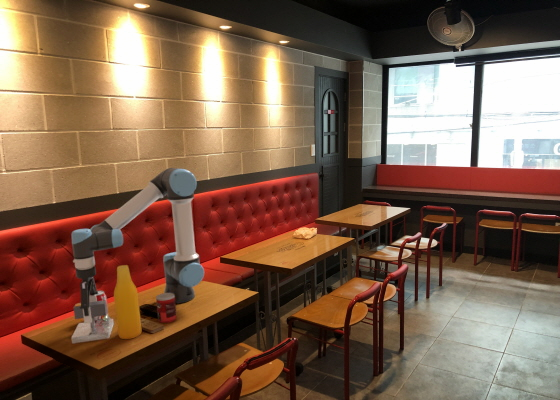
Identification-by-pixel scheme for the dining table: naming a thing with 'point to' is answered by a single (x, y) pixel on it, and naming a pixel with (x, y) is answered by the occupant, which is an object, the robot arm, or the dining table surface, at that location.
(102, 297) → the soda can
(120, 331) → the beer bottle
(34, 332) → the dining table surface
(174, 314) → the canned food
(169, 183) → the robot arm
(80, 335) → the plate
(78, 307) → the grey block orange dot
